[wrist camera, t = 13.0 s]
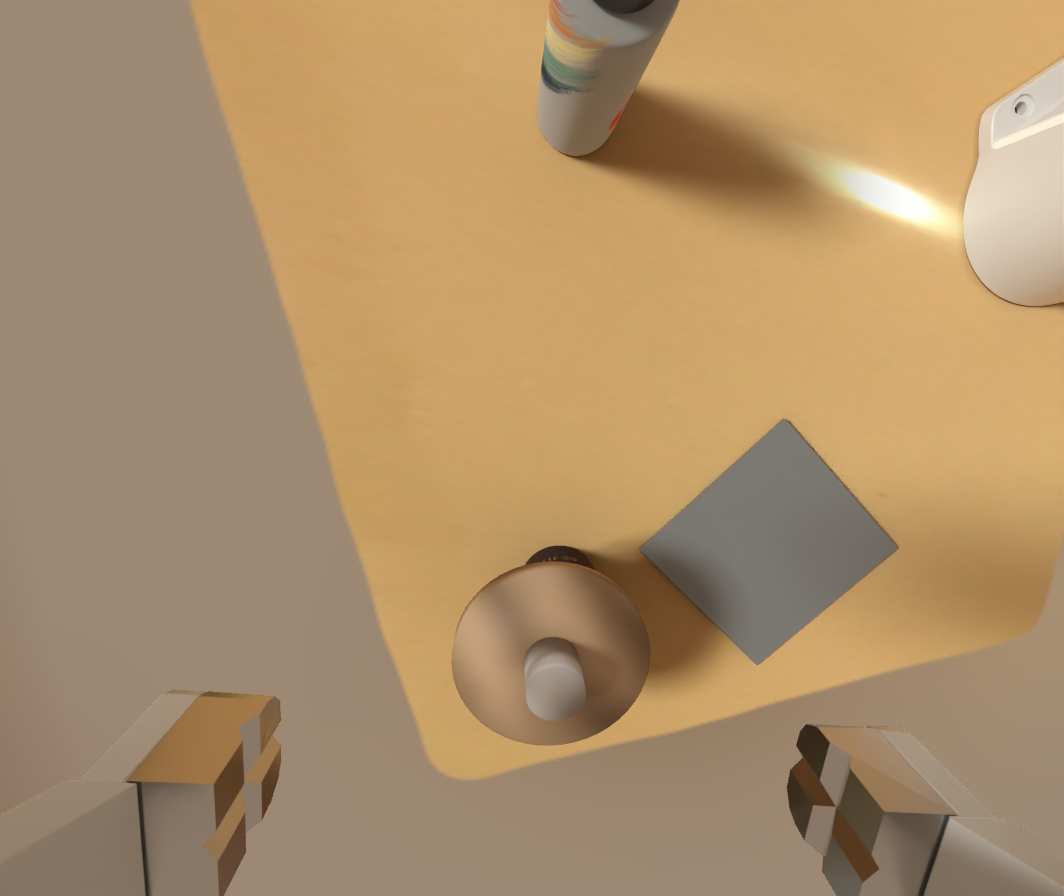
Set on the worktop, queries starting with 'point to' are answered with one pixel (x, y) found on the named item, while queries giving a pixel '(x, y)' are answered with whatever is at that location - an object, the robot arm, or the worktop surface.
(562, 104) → the lotion bottle
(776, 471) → the rubber mat
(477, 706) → the wooden lid
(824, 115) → the worktop surface
